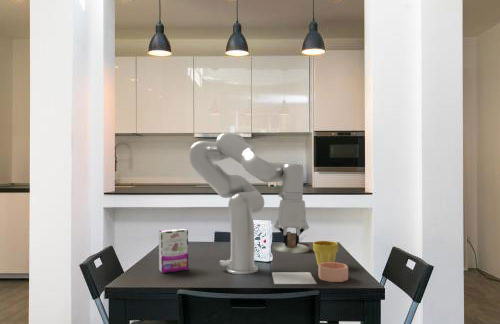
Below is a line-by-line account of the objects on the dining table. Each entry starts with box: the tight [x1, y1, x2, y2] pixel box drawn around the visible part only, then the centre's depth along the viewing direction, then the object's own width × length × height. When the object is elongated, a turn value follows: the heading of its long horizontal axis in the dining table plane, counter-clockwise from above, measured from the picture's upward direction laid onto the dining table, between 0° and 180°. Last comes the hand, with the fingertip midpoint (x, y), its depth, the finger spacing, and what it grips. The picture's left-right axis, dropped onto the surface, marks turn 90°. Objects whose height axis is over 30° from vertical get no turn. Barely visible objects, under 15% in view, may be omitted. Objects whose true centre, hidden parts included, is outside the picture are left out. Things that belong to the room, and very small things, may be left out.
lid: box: [273, 232, 309, 254], centre depth 146 cm, size 13×13×6 cm
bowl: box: [317, 262, 349, 283], centre depth 146 cm, size 10×10×5 cm
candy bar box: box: [158, 228, 189, 274], centre depth 158 cm, size 11×5×16 cm, turn 117°
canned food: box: [299, 234, 310, 253], centre depth 195 cm, size 11×10×10 cm
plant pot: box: [312, 240, 339, 266], centre depth 165 cm, size 10×10×10 cm
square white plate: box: [271, 271, 318, 285], centre depth 145 cm, size 15×15×1 cm
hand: (290, 245), depth 146 cm, fingers closed on lid, 3 cm apart
